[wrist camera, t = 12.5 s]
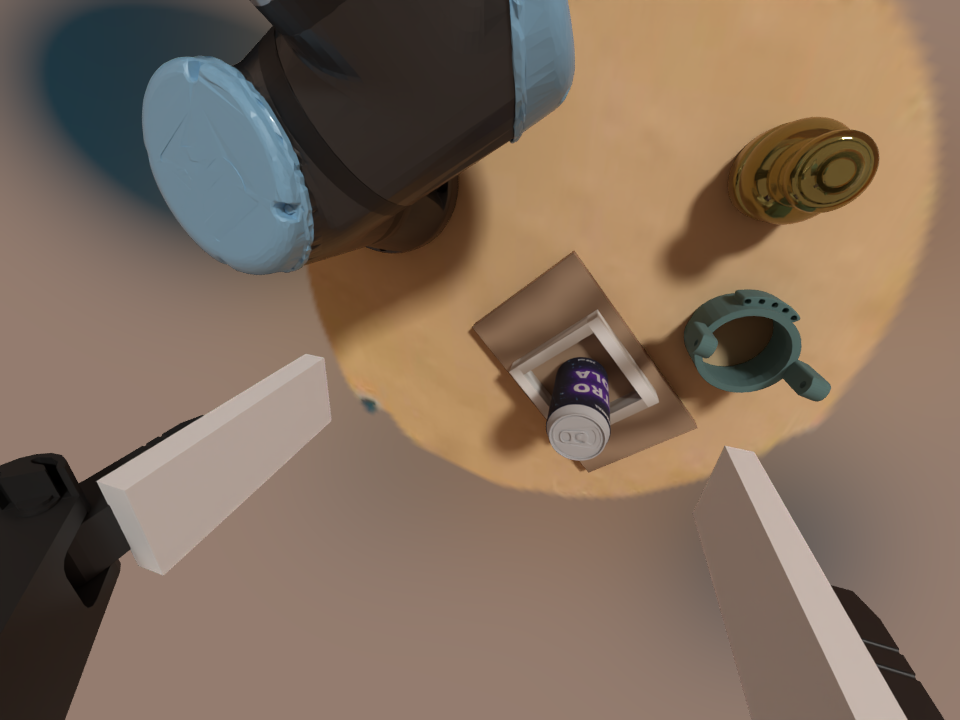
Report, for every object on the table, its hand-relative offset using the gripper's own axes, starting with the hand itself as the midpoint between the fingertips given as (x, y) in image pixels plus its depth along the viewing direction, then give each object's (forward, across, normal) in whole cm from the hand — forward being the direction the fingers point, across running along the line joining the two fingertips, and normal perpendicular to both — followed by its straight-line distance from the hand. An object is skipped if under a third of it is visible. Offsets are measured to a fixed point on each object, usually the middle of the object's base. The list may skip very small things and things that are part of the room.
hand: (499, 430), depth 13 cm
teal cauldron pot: (+32, +18, -5) cm, 37 cm away
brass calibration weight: (+32, +16, +9) cm, 37 cm away
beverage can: (+30, +4, -13) cm, 33 cm away
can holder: (+32, +4, -13) cm, 34 cm away
